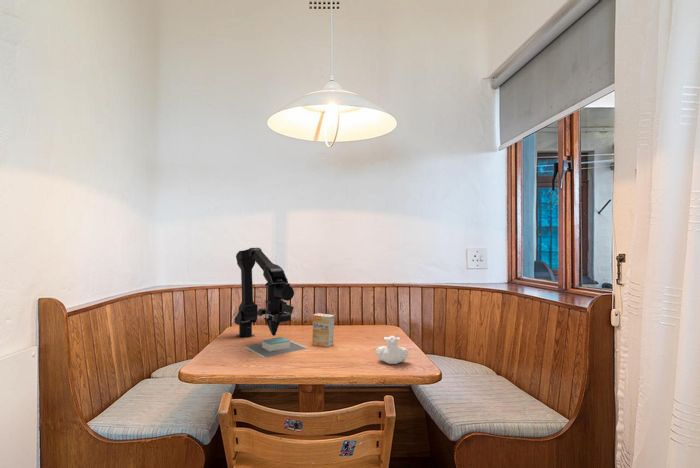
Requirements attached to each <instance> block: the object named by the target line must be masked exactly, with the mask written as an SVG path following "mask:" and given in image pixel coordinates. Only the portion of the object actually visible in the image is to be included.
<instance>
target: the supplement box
mask: <svg viewBox="0 0 700 468" xmlns="http://www.w3.org/2000/svg"><path fill="white" fill-rule="evenodd" d="M311 340H312V342H311V343H312V344H311V345H313V346H318V347H319V346H320V347H326V348H330V347H333V346H334V345H335V341H334V340H335V314H327V313H320V312H318V313H314V314H313V315H312V339H311Z"/></svg>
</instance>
